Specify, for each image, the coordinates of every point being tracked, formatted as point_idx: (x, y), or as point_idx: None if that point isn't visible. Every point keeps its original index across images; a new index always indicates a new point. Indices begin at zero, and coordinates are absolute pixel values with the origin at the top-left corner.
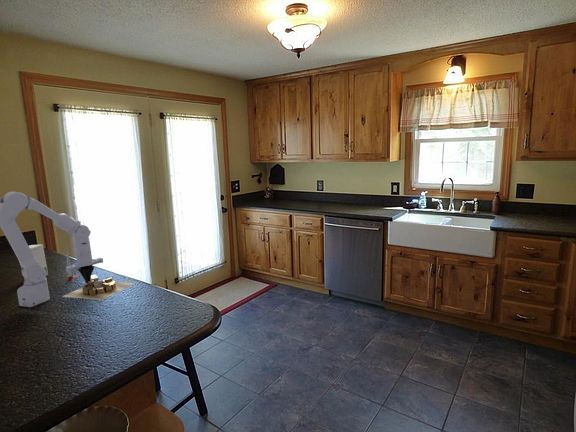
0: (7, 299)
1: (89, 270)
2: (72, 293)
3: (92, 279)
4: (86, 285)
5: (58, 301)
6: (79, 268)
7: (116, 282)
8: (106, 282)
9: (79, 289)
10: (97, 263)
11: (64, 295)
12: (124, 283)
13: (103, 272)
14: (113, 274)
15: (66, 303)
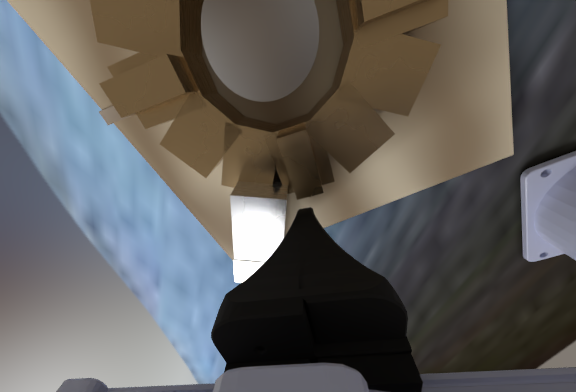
0: (565, 340)
1: (294, 281)
2: (440, 155)
3: (283, 196)
4: (358, 138)
5: (535, 127)
6: (428, 378)
7: (125, 124)
8: (183, 55)
9: (368, 198)
10: (143, 388)
11: (491, 161)
12: (50, 23)
13: (190, 345)
14: (152, 302)
15: (560, 11)
